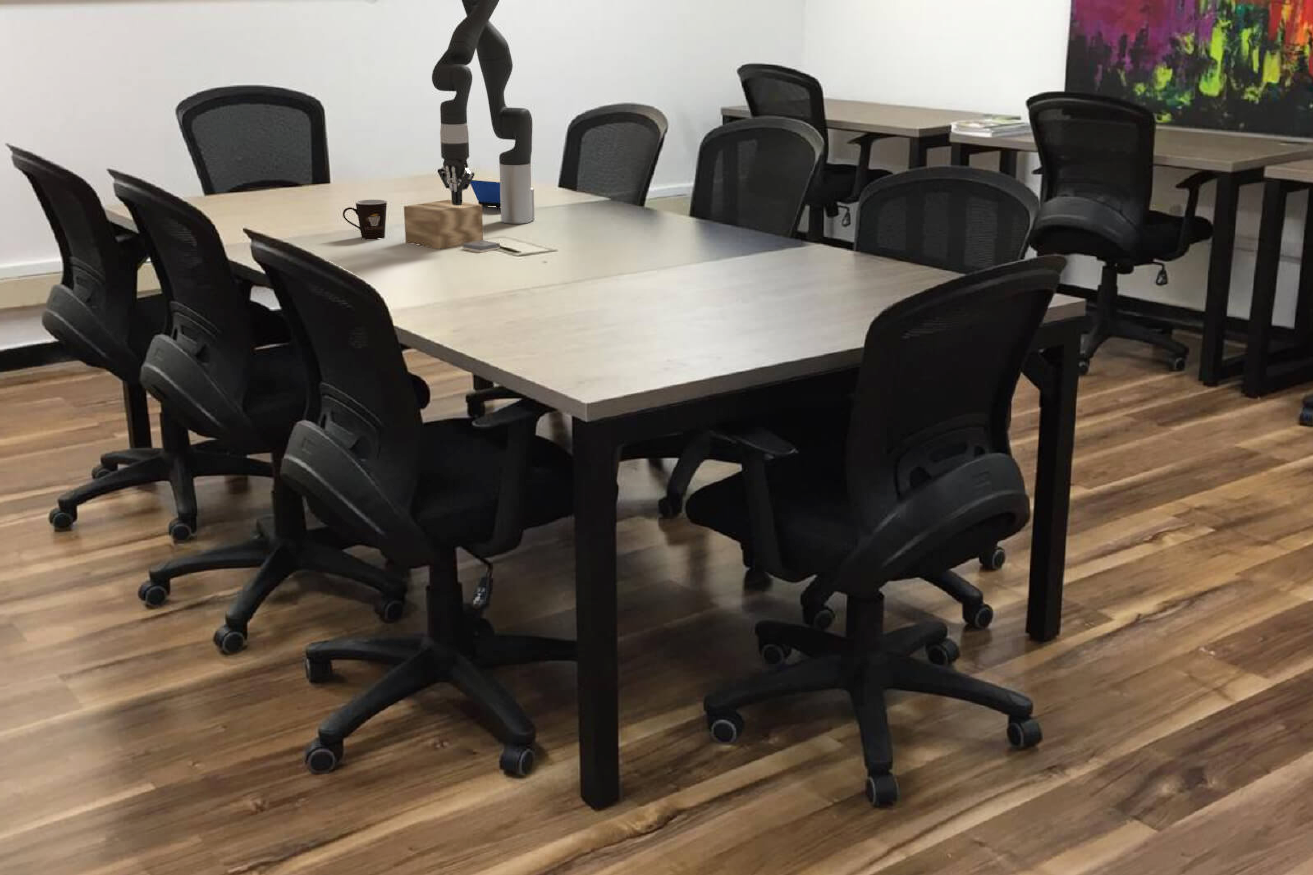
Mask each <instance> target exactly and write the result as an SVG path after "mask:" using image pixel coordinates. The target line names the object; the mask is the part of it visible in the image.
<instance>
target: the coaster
mask: <svg viewBox="0 0 1313 875" xmlns="http://www.w3.org/2000/svg"><path fill="white" fill-rule="evenodd" d="M500 246H501V243H500V242H494V241H488V240H484V239H483V240H480V241H474V242H468V243H463V245H462V250H466V251H470V252H475V253H476V252H477V253H480V252H481V253H485V252H491V251H496V250H500V249H501V247H500ZM499 248H500V249H499Z"/></svg>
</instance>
